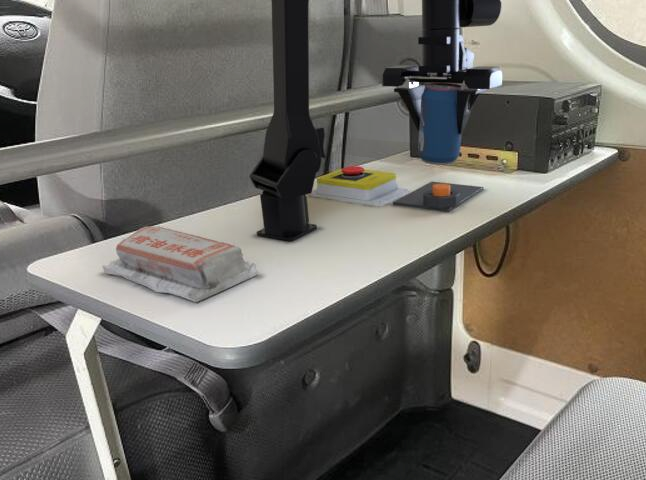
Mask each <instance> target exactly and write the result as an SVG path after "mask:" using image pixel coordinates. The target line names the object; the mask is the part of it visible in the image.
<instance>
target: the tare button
mask: <svg viewBox="0 0 646 480" xmlns="http://www.w3.org/2000/svg"><path fill="white" fill-rule="evenodd" d="M433 195H434V196H448V195H450V185H448V184H435V185H433Z"/></svg>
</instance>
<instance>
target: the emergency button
mask: <svg viewBox="0 0 646 480" xmlns="http://www.w3.org/2000/svg"><path fill="white" fill-rule="evenodd" d="M407 194H409V190H408V189H407V188H406V187H398V182H397V174H396V172H388V171H379V170H371V169H365V168H364V167H363V166H360V165H359V166H358V165H356V166H355V165H354V166H353V165H351V166H346V167H343V168H340V169H338V170H334V171H332V172H329V173H326V174H324V175H321V176H318V177H317V178H316V188H315V189H312V193H311V194H310V196H311V197H313V198H315V197H317V198H322V199H327V200H328V199H330V200H336V201H343V202H347V203H348V202H349V203H355V204H362V205H367V206H368V205H369V206H375V207H381V206H384V205H387V204H388V203H389V204H390V203H391V202H394V201H396V200H398V199H400V198H401V197H403V196H405V195H407Z"/></svg>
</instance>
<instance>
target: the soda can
mask: <svg viewBox="0 0 646 480" xmlns="http://www.w3.org/2000/svg"><path fill="white" fill-rule="evenodd" d="M459 90H463V85H461V84H458V83H429V82H428V83H425V88H424V92H423V94H422V96H421V112H420V128H419V131H418V132H419V133H418V146H417V153H418V155H419V158H420V159H421V161H422V162H424V163H425V164H429V165H436V166H448V165H452V164H454V163H455V162H456V161H457V159H459V156H460V155H461V143H462V134H459V133H458V127H457V91H459Z"/></svg>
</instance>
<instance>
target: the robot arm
mask: <svg viewBox="0 0 646 480" xmlns="http://www.w3.org/2000/svg"><path fill="white" fill-rule="evenodd" d="M501 12H502V1H501V0H421V36H418V38H417V40H418V42H417V43H418V45H421V47H422V49H421V53H422V54H421V58H422V59H421V62H422V64H421V65H420V64H419V65H418V66H417V65H408V64H407V65H404V64H403V65H393V66H387V67H385V68H384V69H383V71H382V73H381V86H382V87H393V92H394V93H397V94H398V95H399V96H400V98H401V100H402V102H403V103H404V105H405V107H406V109H407V111H408V113H409V115H410V117H411V119H412V122H413V124H414V126H415V128H416V130H417V132H419V128H420V112H421V96H422V94H423V92H424V90H425V89H426V84H420V83H428V84H429V83H450V84H462V89H461V90H459V91H457V127H458V133H459V134H461V135H462V134H464V132H465V129H466V126H467V124H468V121H469V118H470V115H471V112H472V110H473V108H474V106H475V103H476V101H477V99H479V97H480V95H481V94H482V93H485V92H487V91H488V90H491V89H494V88H498V87H501V86H502V85H503V72H502V70H501V68H500V67H499V66H493V65H491V66H487V65H486V66H485V65H483V66H481V65H480V66H479V65H478V66H473V65H474V59H475V53H473V52H472V51H471V50H470V49H469V48H468V47H465V46H464V38H463V34H460V28H473V27H489V26H492V25H494V24H495V23H496V22H497V21H498V19H499V18H500V15H501ZM309 14H310V0H271V36H272V37H271V38H272V81H273V83H272V84H273V113H272V116H271V118H270V120H269V123H268V125H267V128H266V131H265V135H264V143H263V151H262V157H261V158H260V159H259V161H258V162H257V164H256V165H255V166H254V168H253V170H252V171H251V173H250V174H249V179H250V181H251V183H252V185H253V187H254V188H255V189H257V190H260V191H262V193H261V194H259V199H260V206H261V214H262V221H263V228H262V229H259V230H257V231H256V236H260V237H265V238H271V239H274V240H275V239H277V240H280V241H281V240H282V241H288V242H291V241H294V240H296V239H299V238H301V237H302V236H305V235H307V234H309V233H311V232H312V231H315V230H316V229H317V228H318V225H317V224H316V223H315V224H314V223H309V222H310V217H309V208H308V197H307V195H311V193H312V191H313V190H314V189H313V188H314V184H315V179H316V175H317V173H319V172H320V170H321V168H322V162H323V161H322V159H326V157H327V156H326V154H325V148H324V144H325V143H324V142H325V137H326V136H325V135H326V134H325V128H324V127H321V126H316V125H315V124H314V123H313V120H312V118H311V115H310V15H309Z"/></svg>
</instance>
